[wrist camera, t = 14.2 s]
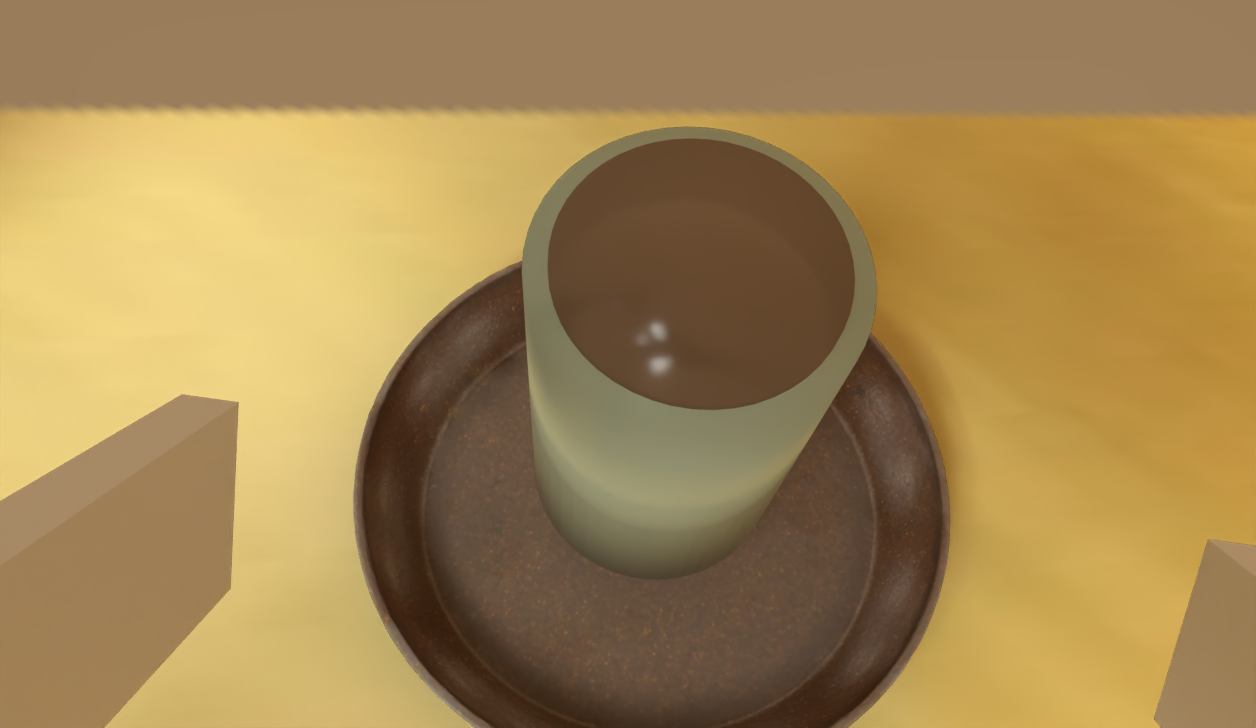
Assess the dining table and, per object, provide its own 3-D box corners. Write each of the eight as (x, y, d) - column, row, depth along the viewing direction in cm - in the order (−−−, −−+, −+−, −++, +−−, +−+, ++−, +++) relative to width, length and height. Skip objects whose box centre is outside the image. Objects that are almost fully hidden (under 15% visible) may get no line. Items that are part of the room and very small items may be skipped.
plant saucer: (342, 324, 35) (325, 274, 33) (817, 249, 38) (836, 197, 36) (406, 875, 27) (390, 865, 24) (1009, 722, 30) (1053, 699, 27)
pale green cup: (485, 445, 30) (447, 237, 20) (664, 314, 32) (713, 66, 22) (641, 631, 28) (688, 506, 17) (819, 477, 30) (953, 288, 20)
